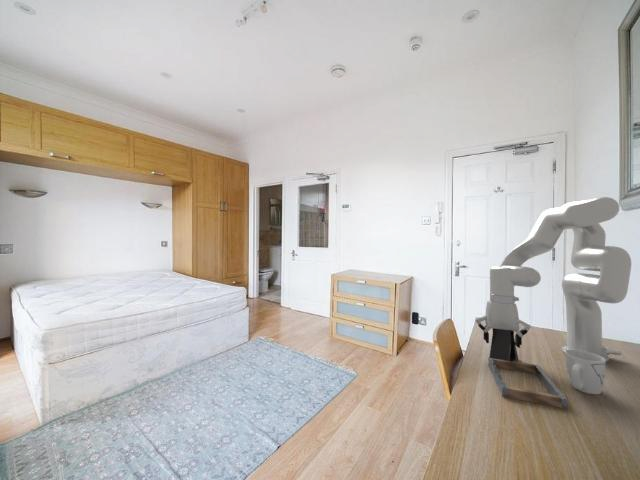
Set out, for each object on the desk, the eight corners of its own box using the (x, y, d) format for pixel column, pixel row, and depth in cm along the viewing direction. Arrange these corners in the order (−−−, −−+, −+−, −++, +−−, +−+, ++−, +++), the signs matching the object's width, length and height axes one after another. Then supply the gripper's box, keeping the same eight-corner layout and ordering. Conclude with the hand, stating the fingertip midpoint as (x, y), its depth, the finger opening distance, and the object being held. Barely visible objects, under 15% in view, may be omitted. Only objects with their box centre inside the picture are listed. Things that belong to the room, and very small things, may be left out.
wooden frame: (538, 372, 85) (538, 365, 85) (567, 408, 67) (567, 399, 67) (488, 364, 91) (488, 357, 91) (502, 396, 73) (502, 387, 73)
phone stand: (507, 365, 91) (506, 331, 91) (489, 358, 96) (488, 327, 96) (518, 358, 96) (517, 327, 96) (500, 352, 101) (499, 322, 101)
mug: (596, 403, 69) (595, 367, 69) (556, 388, 76) (555, 355, 76) (611, 391, 74) (610, 357, 74) (572, 378, 82) (571, 347, 82)
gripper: (526, 299, 96) (527, 344, 96) (474, 295, 103) (474, 337, 103) (533, 303, 89) (534, 352, 89) (476, 299, 96) (477, 343, 96)
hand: (502, 344), depth 96 cm, fingers open, 9 cm apart
